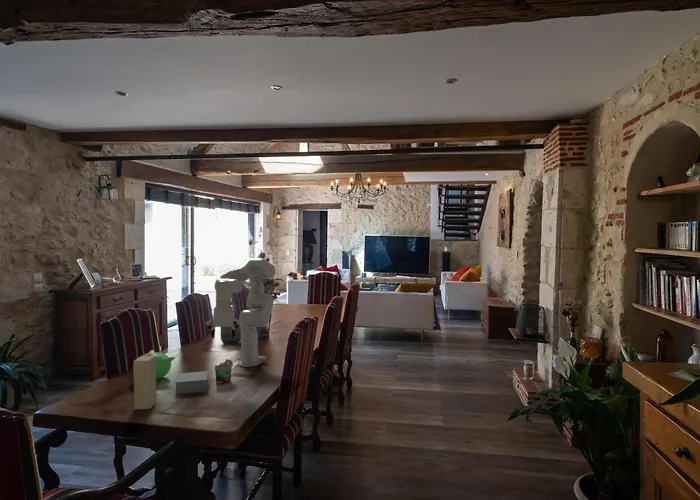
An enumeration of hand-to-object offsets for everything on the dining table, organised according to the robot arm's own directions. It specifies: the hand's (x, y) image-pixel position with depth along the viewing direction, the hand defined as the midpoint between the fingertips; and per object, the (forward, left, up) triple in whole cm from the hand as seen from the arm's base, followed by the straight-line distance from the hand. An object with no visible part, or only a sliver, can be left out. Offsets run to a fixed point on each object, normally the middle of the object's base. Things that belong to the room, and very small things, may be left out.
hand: (223, 337), depth 220 cm
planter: (-7, -80, -23) cm, 83 cm away
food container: (-1, +2, -23) cm, 23 cm away
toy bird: (+35, -13, -23) cm, 43 cm away
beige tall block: (+34, +24, -23) cm, 47 cm away
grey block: (+15, +6, -23) cm, 28 cm away
